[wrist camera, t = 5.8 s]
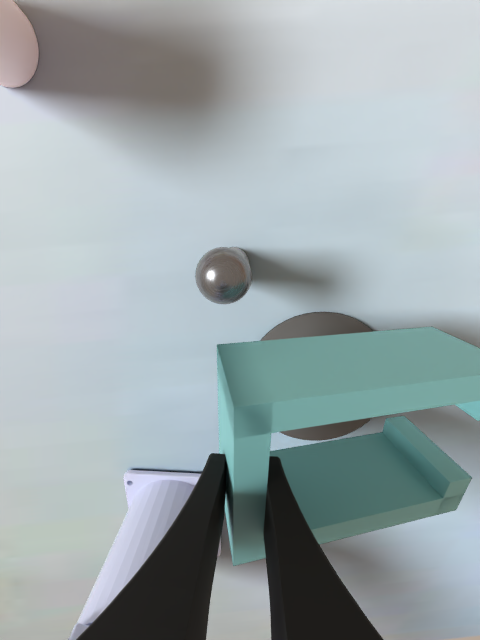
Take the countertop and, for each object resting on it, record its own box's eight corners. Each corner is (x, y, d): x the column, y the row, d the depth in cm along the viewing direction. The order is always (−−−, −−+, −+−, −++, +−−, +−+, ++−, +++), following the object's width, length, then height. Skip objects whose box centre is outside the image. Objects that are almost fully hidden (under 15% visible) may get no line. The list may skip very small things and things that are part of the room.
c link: (394, 444, 16) (455, 510, 13) (219, 475, 14) (233, 565, 11) (431, 326, 13) (525, 369, 10) (216, 344, 11) (234, 407, 8)
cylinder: (251, 283, 17) (251, 311, 10) (214, 282, 17) (191, 310, 10) (252, 243, 16) (252, 249, 10) (213, 243, 16) (187, 248, 10)
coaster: (376, 439, 20) (378, 443, 20) (245, 433, 20) (245, 437, 20) (403, 313, 17) (406, 315, 16) (248, 310, 17) (248, 311, 17)
